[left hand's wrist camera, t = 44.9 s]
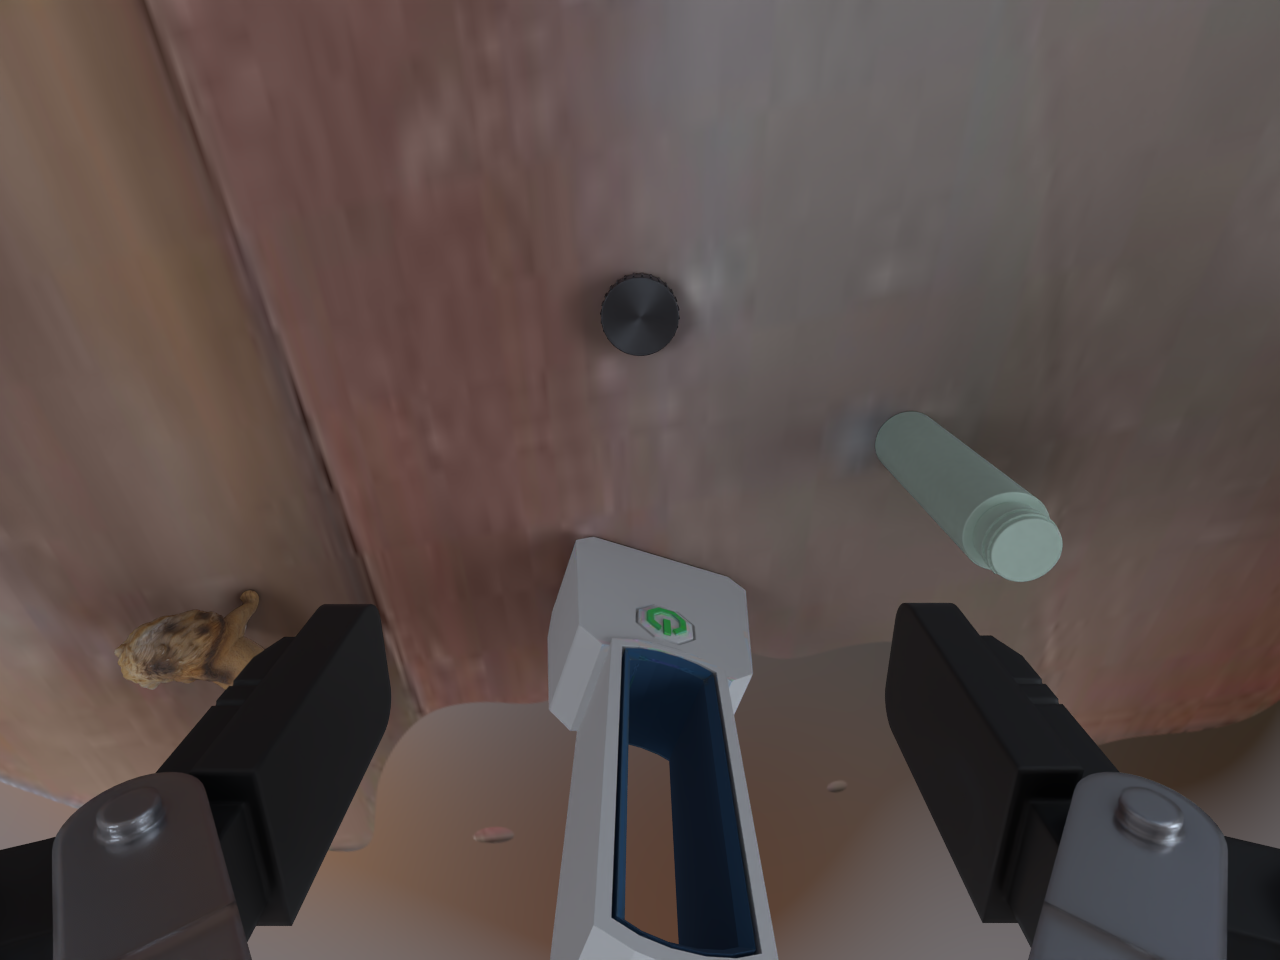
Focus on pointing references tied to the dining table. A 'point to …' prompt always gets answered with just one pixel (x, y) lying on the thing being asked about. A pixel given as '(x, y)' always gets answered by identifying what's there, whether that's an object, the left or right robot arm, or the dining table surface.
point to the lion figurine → (190, 647)
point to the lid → (639, 314)
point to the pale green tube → (970, 498)
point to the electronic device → (668, 726)
